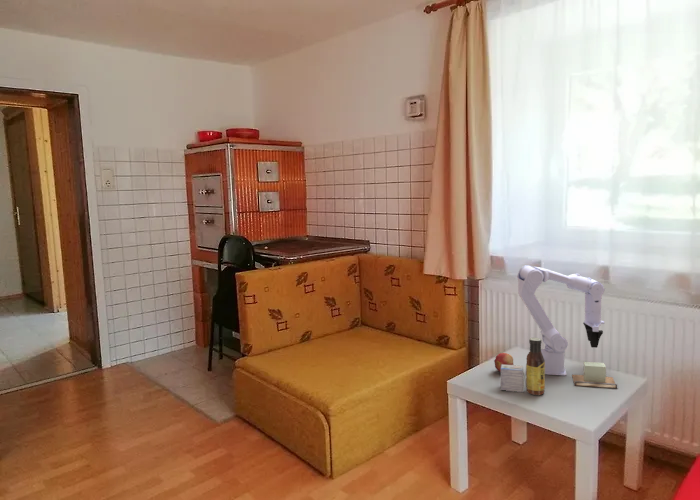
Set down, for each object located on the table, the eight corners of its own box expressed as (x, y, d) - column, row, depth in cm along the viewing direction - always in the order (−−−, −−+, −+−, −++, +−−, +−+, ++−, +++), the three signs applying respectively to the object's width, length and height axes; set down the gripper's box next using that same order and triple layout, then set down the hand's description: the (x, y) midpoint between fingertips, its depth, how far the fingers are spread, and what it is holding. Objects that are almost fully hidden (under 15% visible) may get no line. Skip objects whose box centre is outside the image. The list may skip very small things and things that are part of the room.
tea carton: (605, 382, 185) (605, 366, 184) (584, 381, 187) (585, 365, 187) (603, 378, 189) (604, 362, 188) (583, 376, 191) (583, 361, 190)
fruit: (511, 378, 195) (511, 358, 194) (491, 374, 199) (491, 355, 198) (516, 371, 201) (516, 351, 200) (497, 368, 205) (496, 349, 204)
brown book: (574, 385, 185) (574, 381, 185) (571, 376, 194) (572, 372, 194) (617, 388, 181) (617, 384, 181) (612, 378, 190) (612, 374, 189)
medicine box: (523, 387, 186) (523, 365, 185) (523, 393, 182) (523, 370, 180) (501, 386, 188) (501, 363, 187) (500, 390, 184) (500, 368, 183)
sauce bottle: (544, 397, 178) (545, 342, 175) (526, 395, 180) (526, 341, 177) (544, 389, 184) (544, 336, 181) (526, 387, 186) (526, 335, 183)
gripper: (607, 315, 188) (607, 350, 190) (601, 305, 201) (600, 338, 203) (587, 315, 190) (586, 349, 192) (581, 305, 204) (581, 337, 206)
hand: (592, 343), depth 198 cm, fingers open, 7 cm apart
